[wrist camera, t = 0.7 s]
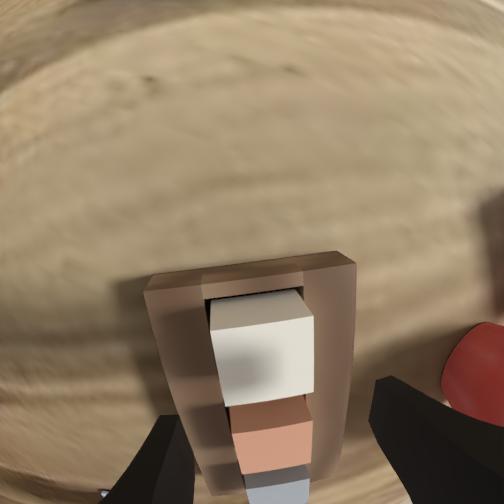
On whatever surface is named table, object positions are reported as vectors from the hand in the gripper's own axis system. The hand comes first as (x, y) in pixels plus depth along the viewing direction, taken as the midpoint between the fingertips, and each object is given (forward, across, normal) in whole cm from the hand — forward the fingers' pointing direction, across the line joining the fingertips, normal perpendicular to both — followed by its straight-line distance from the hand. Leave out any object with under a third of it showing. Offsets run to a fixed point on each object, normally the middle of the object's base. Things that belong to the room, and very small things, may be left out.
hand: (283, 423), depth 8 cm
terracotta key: (+6, 0, +6) cm, 9 cm away
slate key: (+6, 0, +12) cm, 14 cm away
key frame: (+8, 0, +6) cm, 10 cm away
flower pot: (+9, -19, +9) cm, 23 cm away
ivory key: (+6, 0, 0) cm, 6 cm away
